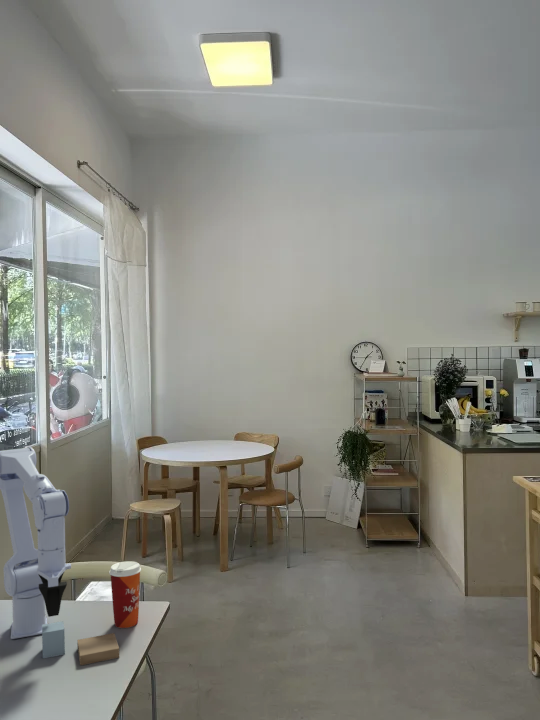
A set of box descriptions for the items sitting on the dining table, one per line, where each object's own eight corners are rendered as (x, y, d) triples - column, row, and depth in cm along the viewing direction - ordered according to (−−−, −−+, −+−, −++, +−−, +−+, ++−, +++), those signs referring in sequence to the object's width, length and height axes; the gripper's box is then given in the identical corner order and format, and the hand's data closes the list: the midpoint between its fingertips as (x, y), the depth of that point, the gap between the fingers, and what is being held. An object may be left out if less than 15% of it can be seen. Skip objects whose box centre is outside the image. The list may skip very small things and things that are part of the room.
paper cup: (134, 631, 139) (133, 571, 139) (104, 629, 140) (103, 570, 140) (147, 617, 146) (146, 560, 147) (119, 615, 148) (118, 559, 148)
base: (77, 648, 130) (77, 639, 131) (114, 641, 134) (114, 632, 134) (80, 665, 123) (80, 655, 123) (119, 657, 126) (119, 648, 126)
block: (42, 649, 131) (42, 624, 131) (63, 645, 132) (63, 621, 133) (42, 658, 127) (42, 633, 127) (64, 654, 128) (64, 629, 128)
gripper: (72, 553, 125) (73, 618, 124) (68, 536, 138) (69, 594, 138) (37, 558, 122) (38, 624, 122) (36, 540, 135) (37, 599, 135)
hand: (52, 608), depth 130 cm, fingers open, 7 cm apart
